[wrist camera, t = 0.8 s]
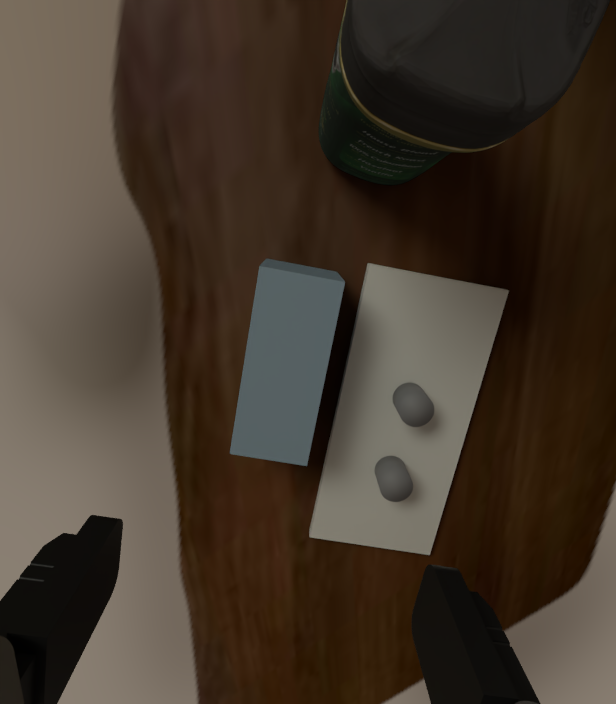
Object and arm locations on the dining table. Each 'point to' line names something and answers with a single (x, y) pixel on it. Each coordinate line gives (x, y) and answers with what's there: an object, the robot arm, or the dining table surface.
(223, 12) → the dining table surface
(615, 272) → the dining table surface
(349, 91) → the coffee jar
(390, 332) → the board
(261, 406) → the block
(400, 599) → the dining table surface
